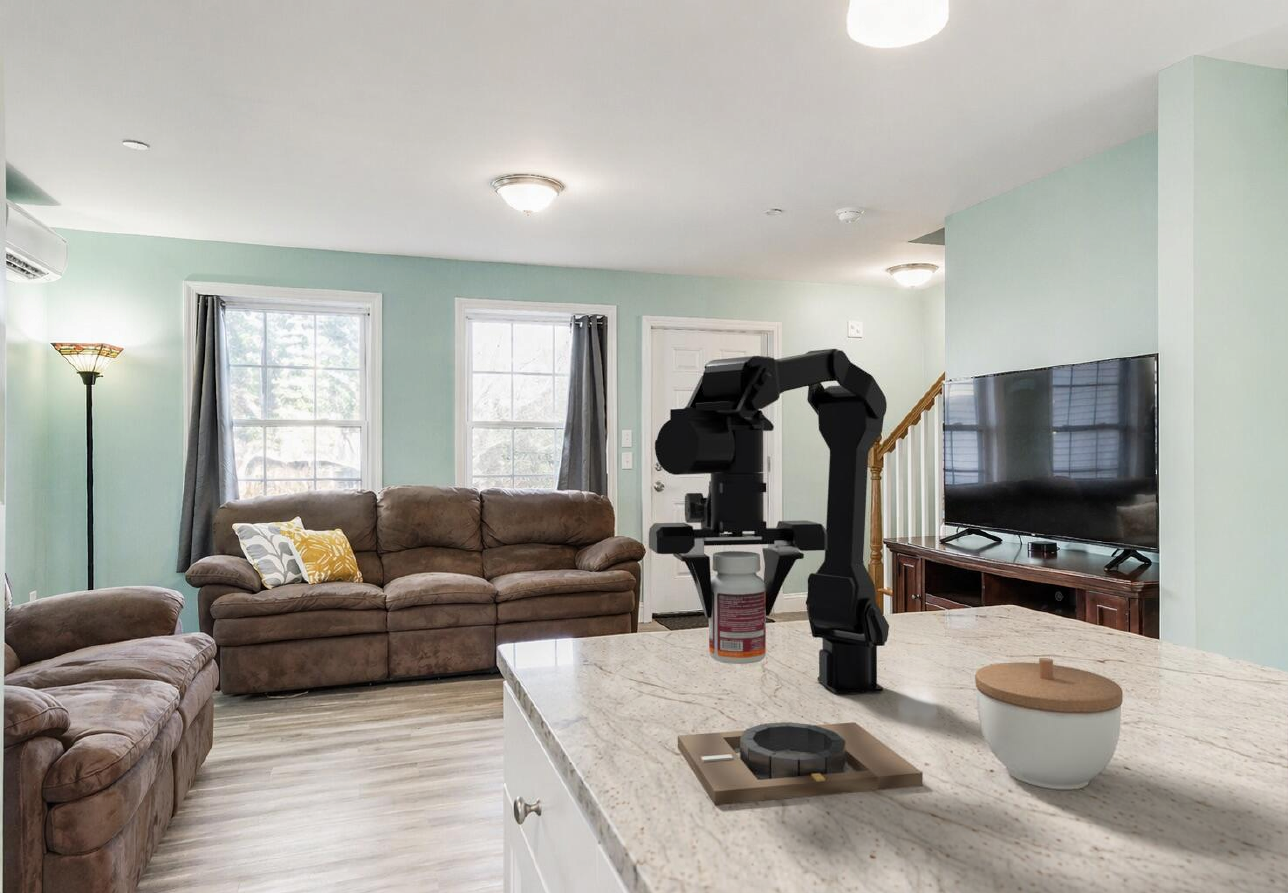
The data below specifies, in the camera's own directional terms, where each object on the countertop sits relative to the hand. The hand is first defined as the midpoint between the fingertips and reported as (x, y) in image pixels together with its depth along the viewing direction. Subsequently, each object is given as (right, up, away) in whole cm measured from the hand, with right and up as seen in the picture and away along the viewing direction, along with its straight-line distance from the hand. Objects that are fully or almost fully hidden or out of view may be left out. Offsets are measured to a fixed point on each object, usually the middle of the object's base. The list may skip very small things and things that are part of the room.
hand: (737, 616), depth 88 cm
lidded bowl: (+28, -13, -10) cm, 33 cm away
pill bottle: (0, -5, 0) cm, 5 cm away
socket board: (+4, -13, -8) cm, 16 cm away
